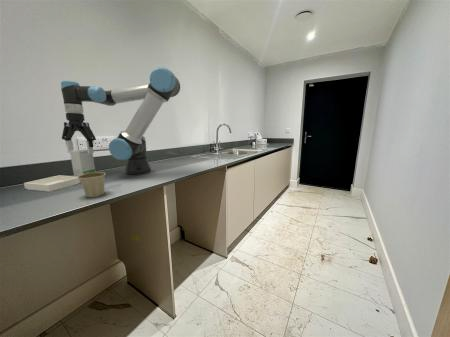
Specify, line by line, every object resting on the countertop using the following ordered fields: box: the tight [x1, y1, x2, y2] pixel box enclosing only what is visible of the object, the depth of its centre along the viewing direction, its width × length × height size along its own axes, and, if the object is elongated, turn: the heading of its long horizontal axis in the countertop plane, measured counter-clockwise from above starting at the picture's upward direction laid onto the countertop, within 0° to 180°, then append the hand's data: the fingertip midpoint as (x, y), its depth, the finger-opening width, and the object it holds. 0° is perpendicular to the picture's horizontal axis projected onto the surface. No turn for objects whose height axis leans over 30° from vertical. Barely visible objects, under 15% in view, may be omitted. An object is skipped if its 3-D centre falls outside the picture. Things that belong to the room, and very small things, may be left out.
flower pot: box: [77, 171, 107, 198], centre depth 74 cm, size 9×9×9 cm
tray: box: [23, 174, 82, 193], centre depth 87 cm, size 15×15×3 cm
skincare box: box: [69, 149, 97, 177], centre depth 101 cm, size 8×7×16 cm
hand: (80, 152), depth 100 cm, fingers open, 13 cm apart
